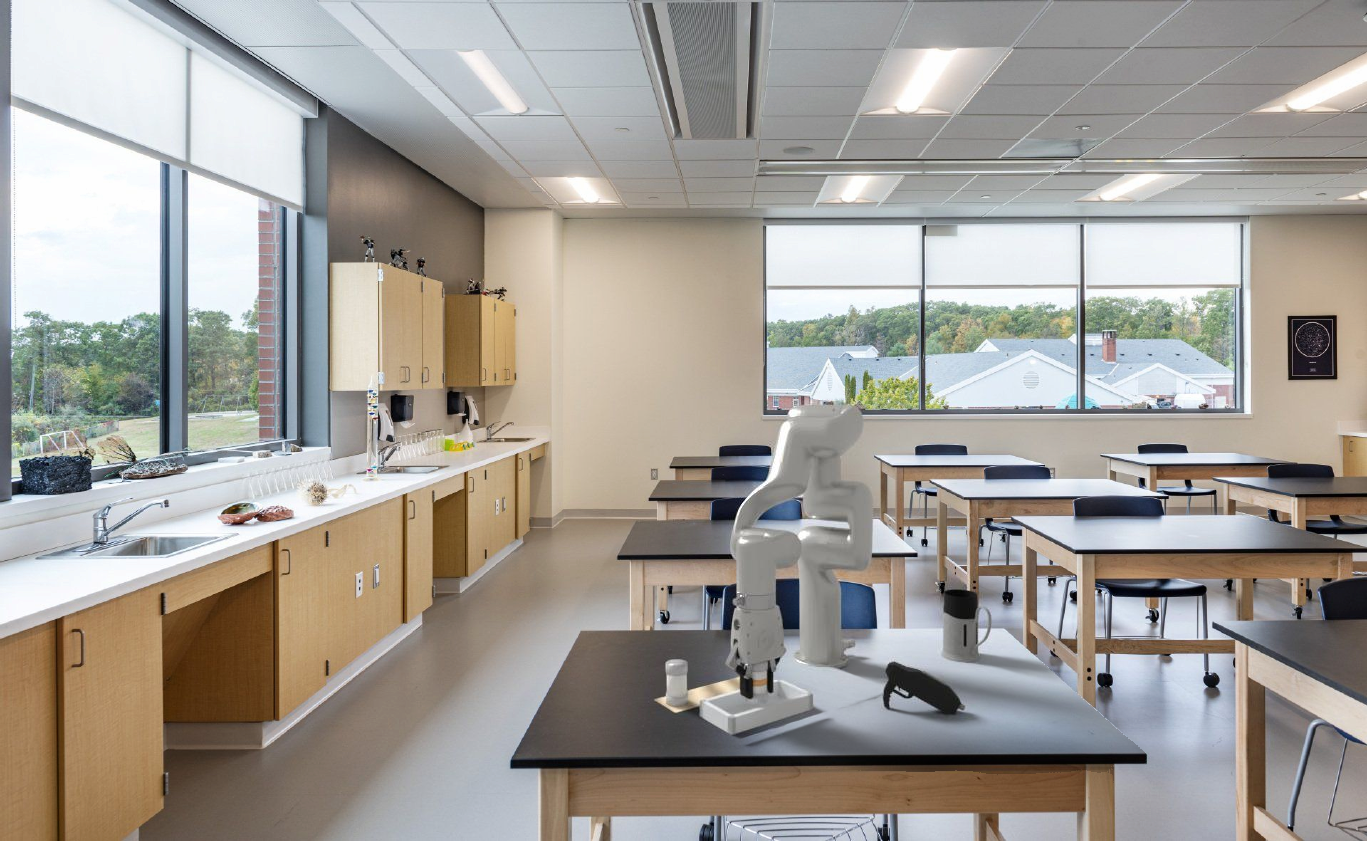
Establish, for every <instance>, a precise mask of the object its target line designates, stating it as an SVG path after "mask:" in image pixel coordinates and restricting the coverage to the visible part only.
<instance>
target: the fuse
mask: <svg viewBox="0 0 1367 841" xmlns="http://www.w3.org/2000/svg"><path fill="white" fill-rule="evenodd" d="M688 668H689V667H688V661H687V660H684V659H678V658H677V659H669V660H667V661H666V662H665V674H666V692H665V696H666V704H667V705H669V706H672V707H682V706H685V705H687V704H688V693H687V691H688V685H687V684H688V681H687V680H688V679H687V678H688V676H687V674H688V670H689V669H688Z"/></svg>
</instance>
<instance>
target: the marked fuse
mask: <svg viewBox="0 0 1367 841" xmlns="http://www.w3.org/2000/svg"><path fill="white" fill-rule="evenodd" d="M745 666H746V664H745V665H744V667H745ZM767 669H768V661H764V662H760V663H756V664H752V669H751V676H750V678H752V679H753V698H752V699H748V698H746V697H745V700H746V701H747V702H748V703H751V704H764V703H766V702H768V689H767Z"/></svg>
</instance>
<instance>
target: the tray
mask: <svg viewBox="0 0 1367 841" xmlns="http://www.w3.org/2000/svg"><path fill="white" fill-rule="evenodd" d="M812 710H814V693H812V692H809V691H807V690H805V689H803V688H801V687H799V686H796V685H795V684H792V683H790V682H787V681H786V680H783V679H782V678H777V679H773V693H769V692H768V702H766V703H764V704H751V703H748V702H747V701H746V700H745V697H744V696H742V695H741V694H740V690H736V691H733V692H729V693H726V694H722V695H718V696H715V697H711V698H707V699H704V700H700V706H699V717H700V718H702V720H703V719H704V720H705V721H707V722H709V723H710V724H712V725H714V726H716V727H717V728H718V729H720V730H722V731H724V732H726V733H727V734H728V735H731V736H733V735H736V734H739V733H743V732H745V731H746V732H747V731H749V730H751V729H756V728H758V727H761V726H764V725H767V724H771V723H774V722H778V721H780V720H784V719H787V718H790V717H793V716H797V715H799V714H802V713H805V712H808V711H812Z"/></svg>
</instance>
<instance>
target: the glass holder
mask: <svg viewBox="0 0 1367 841" xmlns="http://www.w3.org/2000/svg"><path fill="white" fill-rule="evenodd" d="M978 597H979V596H978V593H977V592H975V591H972V590H967V589H955V588H954V589H947V590H945V591H943V607H942V613H943V614H942V651H941V652H940V656H941V657H942V658H943V659H946V660H949V661H952V662H959V663H975V662H978V661H980V660H981V655H980V654H979V647H980V646H981V645H982V644H983V643H985V642H986V640H988V637H989V636H990V633H991V629H992V615H991V612H990V609H988V608H987V606H984V605H981V606H978V604H979V603H978V599H979V598H978ZM981 609H983V610H984V611H985V612H986V613H987V618H988V623H987V630H986V633H985V636H984V637H983V638H982V640H980V642H979V618H980V616H979V614H980V611H981Z"/></svg>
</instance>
